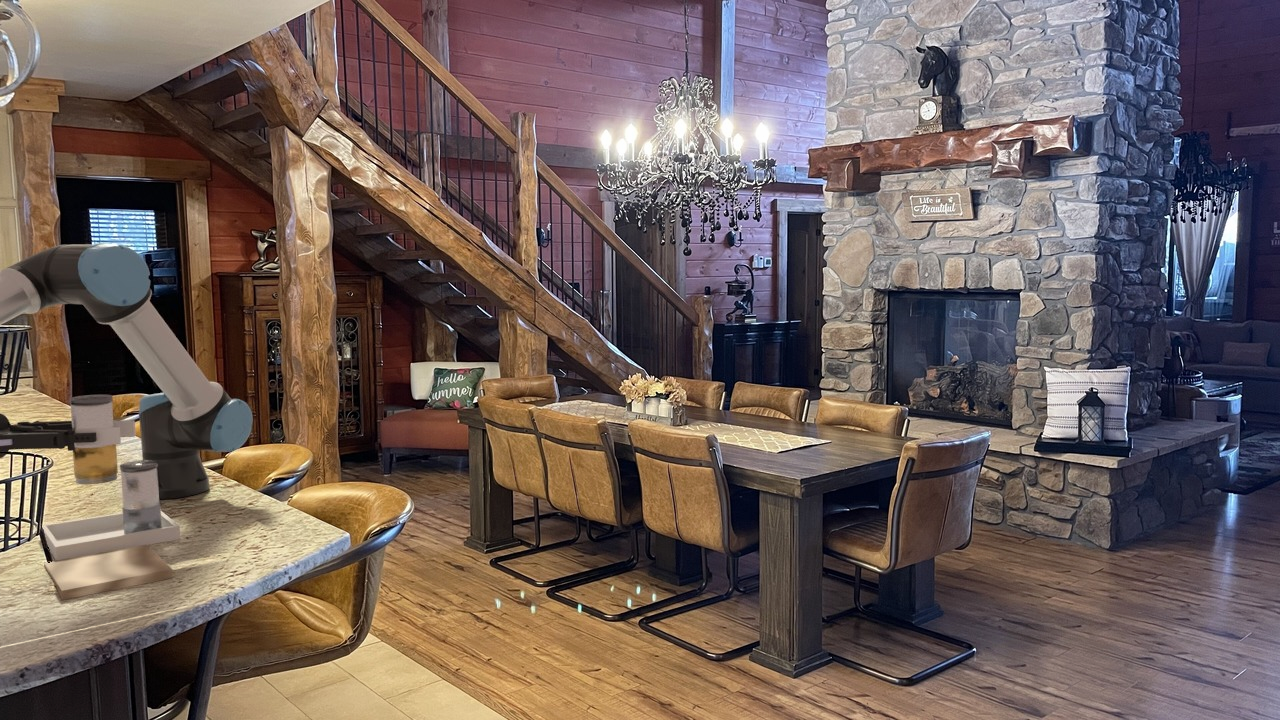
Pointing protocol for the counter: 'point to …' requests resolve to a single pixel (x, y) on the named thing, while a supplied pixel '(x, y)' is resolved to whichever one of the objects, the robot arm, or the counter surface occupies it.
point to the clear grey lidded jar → (140, 496)
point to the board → (107, 571)
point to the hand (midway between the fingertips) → (126, 432)
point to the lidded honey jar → (93, 459)
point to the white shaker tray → (103, 535)
